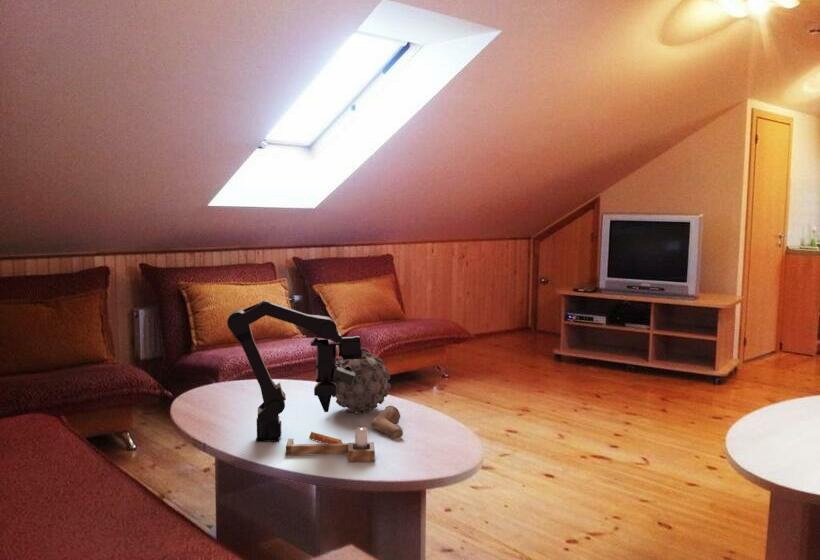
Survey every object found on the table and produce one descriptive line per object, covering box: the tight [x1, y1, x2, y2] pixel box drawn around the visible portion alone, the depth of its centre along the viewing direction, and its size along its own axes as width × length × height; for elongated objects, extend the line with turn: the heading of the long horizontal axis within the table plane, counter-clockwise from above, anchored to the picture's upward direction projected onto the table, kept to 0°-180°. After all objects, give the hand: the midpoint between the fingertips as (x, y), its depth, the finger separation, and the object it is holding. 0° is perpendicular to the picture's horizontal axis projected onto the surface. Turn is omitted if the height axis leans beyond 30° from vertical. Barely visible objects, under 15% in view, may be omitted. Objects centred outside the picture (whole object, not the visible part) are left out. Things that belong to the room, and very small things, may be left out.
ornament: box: [331, 350, 391, 414], centre depth 237 cm, size 20×20×20 cm
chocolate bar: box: [308, 431, 343, 444], centre depth 206 cm, size 3×12×2 cm, turn 52°
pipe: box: [370, 405, 404, 439], centre depth 216 cm, size 6×17×10 cm
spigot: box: [354, 426, 368, 450], centre depth 192 cm, size 3×3×8 cm
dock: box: [285, 438, 376, 463], centre depth 195 cm, size 24×13×3 cm, turn 95°
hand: (326, 411), depth 211 cm, fingers closed
